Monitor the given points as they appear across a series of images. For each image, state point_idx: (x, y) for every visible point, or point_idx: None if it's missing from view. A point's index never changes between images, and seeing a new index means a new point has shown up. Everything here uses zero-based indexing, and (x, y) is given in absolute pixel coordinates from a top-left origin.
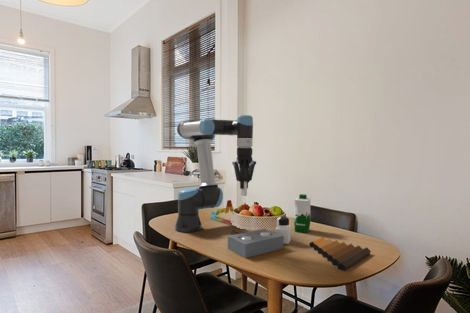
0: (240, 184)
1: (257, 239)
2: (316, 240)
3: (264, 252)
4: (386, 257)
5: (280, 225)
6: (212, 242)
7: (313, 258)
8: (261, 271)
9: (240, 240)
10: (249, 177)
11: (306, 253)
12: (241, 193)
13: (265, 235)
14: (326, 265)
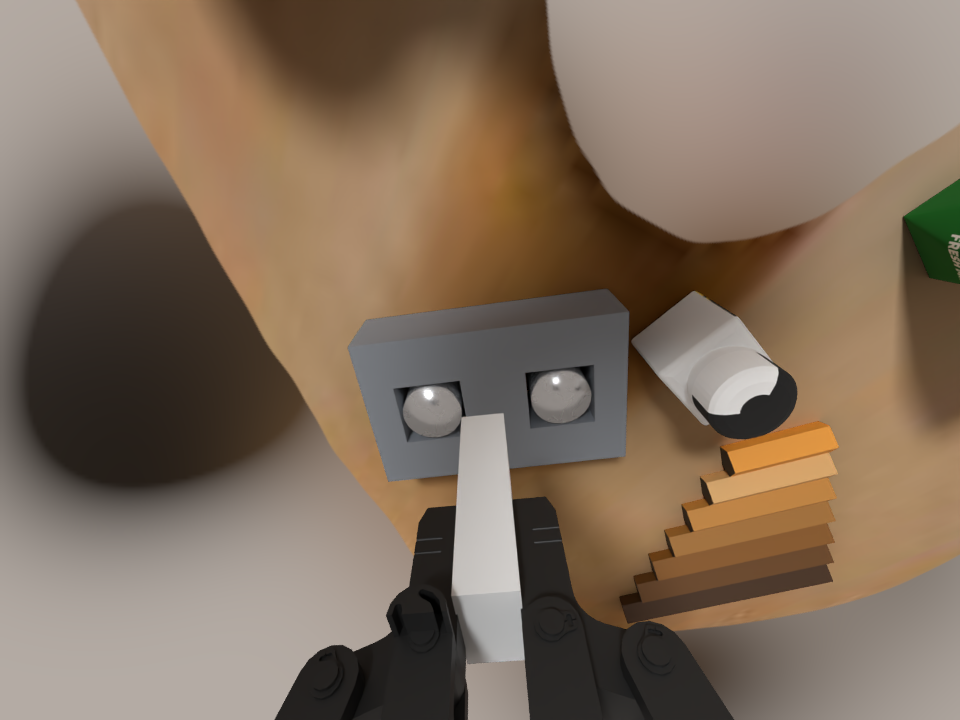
0: (412, 583)
1: None
2: (768, 465)
3: None
4: (825, 596)
5: (693, 403)
6: (309, 183)
7: (624, 528)
8: (403, 538)
9: (387, 434)
10: (701, 713)
11: (642, 490)
12: (461, 438)
13: (546, 420)
14: (612, 573)
